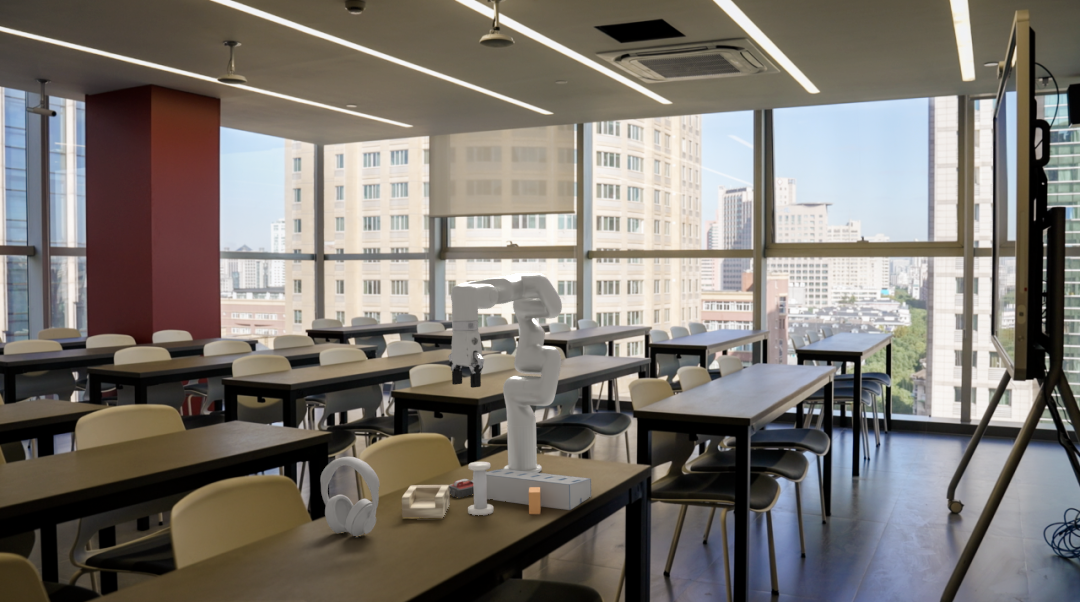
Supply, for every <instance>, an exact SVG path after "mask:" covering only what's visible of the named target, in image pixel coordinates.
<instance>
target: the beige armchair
mask: <svg viewBox="0 0 1080 602" xmlns="http://www.w3.org/2000/svg"><path fill="white" fill-rule="evenodd" d="M449 485H450V484H416V485H415V484H410V485H409V487H408V489H407V490H406V491H405V492H404V494H403V495H402V497H401V515H402V516H401V517H419V518H420V517H421V518H422V517H423V518H443V517H444V518H445V516H446V514H447V512H448V510H449V508H450V506H451V505H450V504H451V503H450V502H451V495H450V494H449ZM449 505H450V506H449ZM448 507H449V508H448ZM447 509H448V510H447ZM446 511H447V512H446ZM445 513H446V514H445ZM444 515H445V516H444ZM444 518H443V519H444Z"/></svg>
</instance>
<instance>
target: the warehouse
mask: <svg viewBox="0 0 1080 602" xmlns="http://www.w3.org/2000/svg"><path fill="white" fill-rule="evenodd" d="M486 481H487V500H490V499H493V500H492V501H499V502H505V501H506V502H507V503H513V504H514V503H515V504H520V505H521V504H522V505H528V506H529V487H540V496H541V507H544V508H551V509H558V510H560V509H561V510H567V511H571V510H572V509H574V508H576V507H577V506H579V505H581V503H584V502H585V501H586V500H588V499H590V498H591V497H592V478H590V477H589V478H587V477H582V476H581V477H579V476H572V475H571V476H570V475H561V474H553V473H552V474H550V473H545V472H544V473H543V472H538V473H536V472H527V471H518V470H509V469H504V468H500V469H499V468H498V469H494V470H490V471H486ZM589 497H590V498H589Z"/></svg>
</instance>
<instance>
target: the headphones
mask: <svg viewBox="0 0 1080 602" xmlns="http://www.w3.org/2000/svg"><path fill="white" fill-rule="evenodd" d="M342 466H343V467H344V466H347V467H350V468H352V469H354V470H355V471H357V473H358V474H359V475H360V476H361V477H362V479H363V481H364V482H365V484H366V485H367V487H368V490H369V492H370V495H371V501H370V500H369V499H367V498H361V499H360V500H358V501H357V502H356V503H355V504H353V502H352V500H351V499H350V498H349V497H348V496H346V495H344V494H337V495H334V496H331V498H330V497H329V494H328V493H329V492H328V491H329V489H328V488H329V484H330V482H331V480H332V478H333V475H334V474H335V472H336V471H337V470H338V468H340V467H342ZM319 482H320V492H321V496H322V500H323V503H324V505H325V509H324V515H325V520H326V523H327V525H328V527H329V528H330V529H331V530H332V531H333V533H335V534H338V533H341V532H346V533H349V534H350V535H351V536H353V537H354V536H359V535H362V534H363V535H365V534H366V535H368V534H369V533H371V532H372V530H373V529H374V528H375V525H376V523H377V517H376V514H377V508H378V506H379V499H380V495H379V489H380V488H379V487H380V479H379V476H378V474H377V473H376V472H375V469H373V467H371V465H369V464H368V462H366V461H364V460H363V459H360V458H357V457H354V456H342V457H338V458H336V459H333V460H332V461H331V462H330V463H328V464H327V465H326V466H325V468H324V469H323V471H322V472H321V475H320V481H319ZM364 533H365V534H364ZM363 535H362V536H363Z"/></svg>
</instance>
